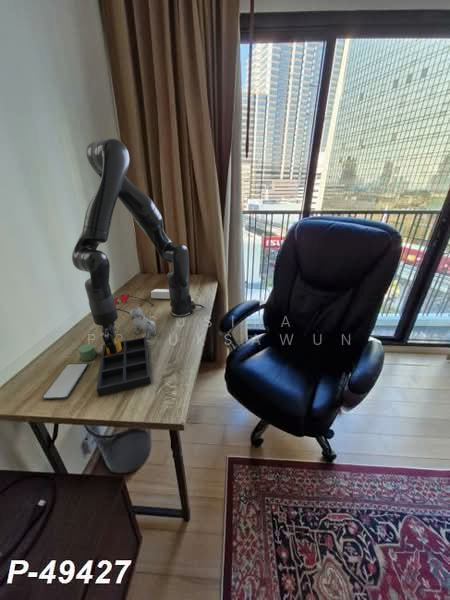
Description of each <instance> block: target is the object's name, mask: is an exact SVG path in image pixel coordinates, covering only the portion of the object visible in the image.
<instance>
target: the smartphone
mask: <svg viewBox="0 0 450 600" xmlns="http://www.w3.org/2000/svg"><path fill="white" fill-rule="evenodd" d="M88 366H89V364H88V363H86V362H85V363H81V362H80V363H67V364H66V366H65V367H64V368H63V370H62V372H61V373H60V374H59V375H58V377H56V379H55V380H54V382H53V383H52V384H51V386H50V387H49V388H48V390H47V391H46V392H45V393H44V395H43V396H42V398H43V400H52V399H53V400H54V399H55V400H56V399H66V398H68V396H69V395H70V393H71V392H72V390H73V388H74V387H75V386H76V384H77V382H78V381H79V379H80V378H81V377H82V375H83V373H85V370H86V368H87V367H88Z"/></svg>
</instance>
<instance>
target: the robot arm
mask: <svg viewBox="0 0 450 600" xmlns="http://www.w3.org/2000/svg"><path fill="white" fill-rule="evenodd" d="M85 153H86V154H85V155H86V158H87V161H88V163H89V166H90V167H91V168H92V169H93V171H94V172H95V173H96V174H97V176H98V177H99V178H100V181H99V184H98V186H97V189H96V191H95V192H94V195H92V198H91V200H90V201H89V203H88V205H87V208H86V211H85V215H84V220H83V225H82V232H81V234H80V235H79V237H78V239H77V241H76V243H75V245H74V248H73V250H72V252H71V253H72V254H71V261H72V264H73V266H74V267H75V268H76V269H77V270H79V271H82V272H86V273H89V277H90V278H88V279H86V280H85V282H84V289H85V292H86V296H87V298H88V306H89V309H90V312H91V316H92V319H93V323H94V324H95V325H97V326H101V328H100V329H101V333H102V340H103V343H104V345H106V348H109V351H110V354H116V353H117V349H116V346H115V340H114V339H115V337H117V332H116V331H117V327H116V323H115V322H116V321H117V320H118V318H119V315H118V310H117V307H116V306H117V305H116V306H115V302H114V299H115V298H114V296H113V294H112V290H111V285H110V271H111V269H110V268H111V265H110V259H109V258H108V256H107V254H106V253H105V252H103V251H102V250H98V247H99V245H101V244H104V243H106V242H107V241H108V239H109V234H110V230H111V224H112V220H113V214H114V211H115V206H116V203H117V201H118V200H119V201H120V203H121V204H122V205H123V206H124V207H125V209H126V210H127V211H128V213H129V214H130V215H131V217H132V218H133V220H134V221H135V222H136V224H137V225H138V226H139V228H140V229H141V230H142V231H143V233H144V234H145V235H146V237H147V238H148V239H149V240H150V242H151V243H152V245H153V246H154V248H155V250H156V252H157V253H158V255H159V257H160V258H161V260H162V261H163V262H165V263H166V264H168V265H171V266H172V267H173V270H171V271H169V272H168V273H167V275H166V278H167V285H168V290H169V294H170V299H169V302H170V303H169V306H170V312H171V315H172V316H174V317H177V318H183V317H187V316H188V315H190V314H191V315H192V314H193V310H196V307H201V308H202V309H204V308H205V306H203V304H199V303H195V301H194V300H192V295H191V293H190V281H189V279H190V278H189V275H190V252H189V249H188V247H187V246H186V245H185V244H181V243H177V242H173V241H172V240H171V239H170V238H169V236H168V235H167V234H166V232H165V230H164V220H163V219H164V218H163V216H162V213H161V212H160V210H159V208H158V206H157V205H156V204H155V203H154V201H153V200H152V198H150V197H149V195H147V194H146V193H145V192H144V191H142V190H141V189H140V188H139V187H137V186H136V185H135V184H134V183H132V181H131V180H130V179H129V178H128V177H127V173H128V170H129V166H130V162H131V161H130V160H131V158H130V153H129V150H128V148H127V146H126V145H125V144H124V143H123V142H122V141H121V140H119V139H117V138H104V139H99V140H95V141H92V142H90V143H88V145H87V146H86V150H85Z"/></svg>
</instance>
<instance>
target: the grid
mask: <svg viewBox="0 0 450 600" xmlns="http://www.w3.org/2000/svg"><path fill="white" fill-rule="evenodd" d="M120 343H121V347H122V349H121V350H120V351H119V352H118V353H116V354H109V353H107V350H106V346H105V344H102V349H101V356H100V364H99V370H98V377H97V384H96V392H97V395H98V397H103V396H107V395H110V394H114V393H118V392H122V391H123V392H124V391H128V390H131V389H134V388H135V389H136V388H139V387H144V386H147V385H152V379H151V368H150V361H149V349H148V341H147V339H146V337H145V336H142V337H137V338H132V339H128V340H126V339H125V340H122V341H121V340H120Z"/></svg>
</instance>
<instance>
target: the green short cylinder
mask: <svg viewBox="0 0 450 600" xmlns="http://www.w3.org/2000/svg"><path fill="white" fill-rule="evenodd" d="M78 353H79V356H80V360H82V361H83V362H88V361H89V362H90V361H92V360H94V359H95V358H96V357H97V351H96V348H95V345H94V344H93V343H84V344H82V345H81V346H79V348H78Z"/></svg>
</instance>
